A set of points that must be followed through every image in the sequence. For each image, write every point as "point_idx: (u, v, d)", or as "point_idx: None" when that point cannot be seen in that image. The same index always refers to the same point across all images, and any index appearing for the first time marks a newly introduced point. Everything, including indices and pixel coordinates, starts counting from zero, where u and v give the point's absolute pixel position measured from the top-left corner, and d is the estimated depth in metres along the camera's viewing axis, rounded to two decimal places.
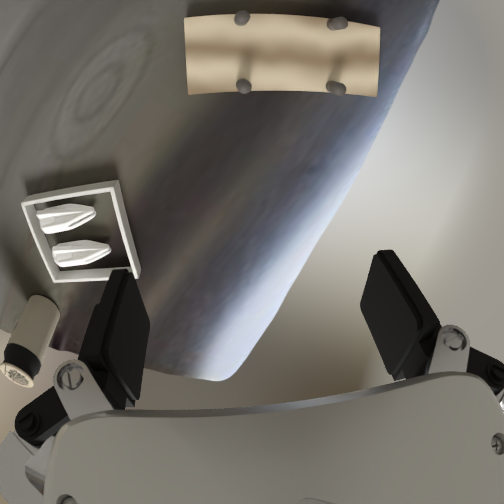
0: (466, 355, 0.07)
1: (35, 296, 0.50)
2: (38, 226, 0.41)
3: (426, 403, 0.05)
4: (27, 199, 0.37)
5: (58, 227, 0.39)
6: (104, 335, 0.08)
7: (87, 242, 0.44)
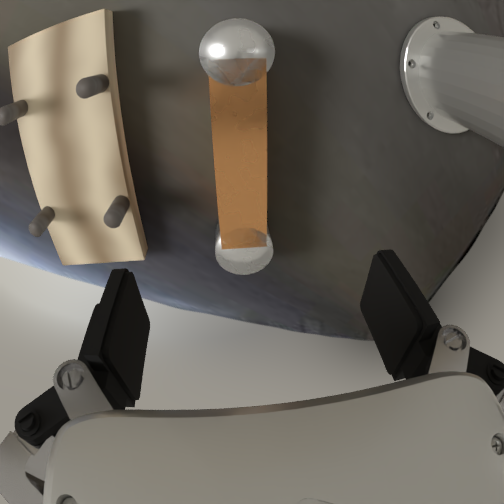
0: (466, 355, 0.07)
1: None
2: None
3: (426, 403, 0.05)
4: None
5: None
6: (104, 335, 0.08)
7: None
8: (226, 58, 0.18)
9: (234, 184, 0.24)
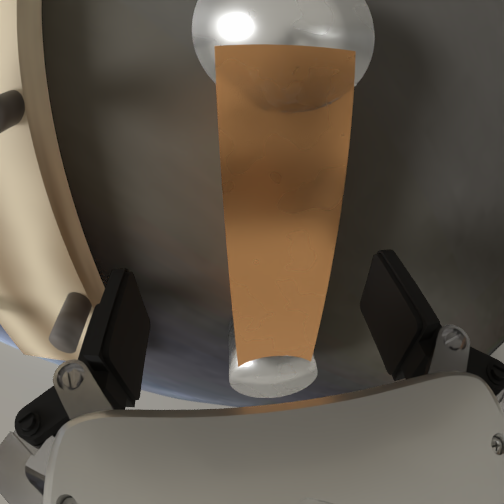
0: (466, 355, 0.07)
1: None
2: None
3: (426, 403, 0.05)
4: None
5: None
6: (103, 335, 0.08)
7: None
8: (261, 43, 0.07)
9: (267, 303, 0.13)
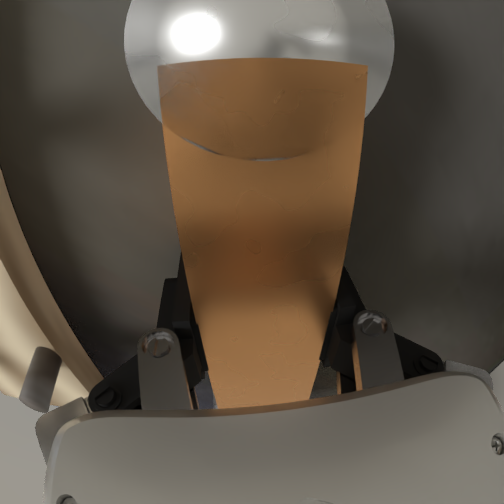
0: (392, 336, 0.08)
1: None
2: None
3: (426, 403, 0.05)
4: None
5: None
6: (190, 302, 0.09)
7: None
8: (226, 56, 0.05)
9: (250, 375, 0.10)
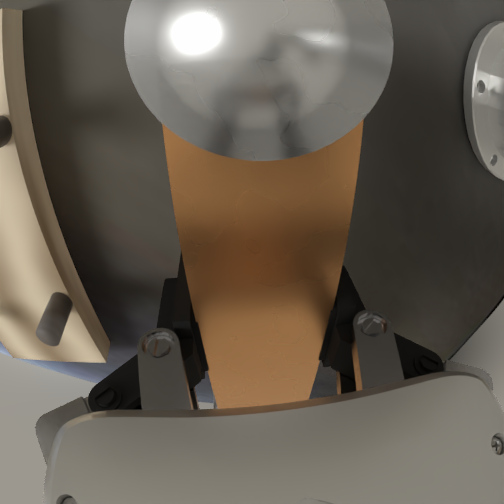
0: (391, 336, 0.08)
1: None
2: None
3: (426, 403, 0.05)
4: None
5: None
6: (190, 302, 0.09)
7: None
8: (225, 57, 0.05)
9: (250, 374, 0.11)
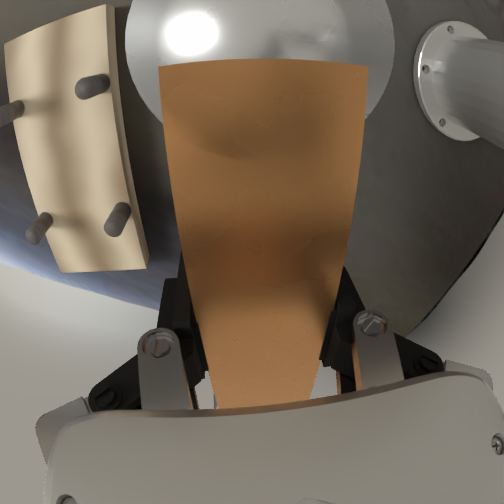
0: (392, 336, 0.08)
1: None
2: None
3: (426, 403, 0.05)
4: None
5: None
6: (190, 302, 0.09)
7: None
8: (226, 57, 0.05)
9: (250, 375, 0.10)
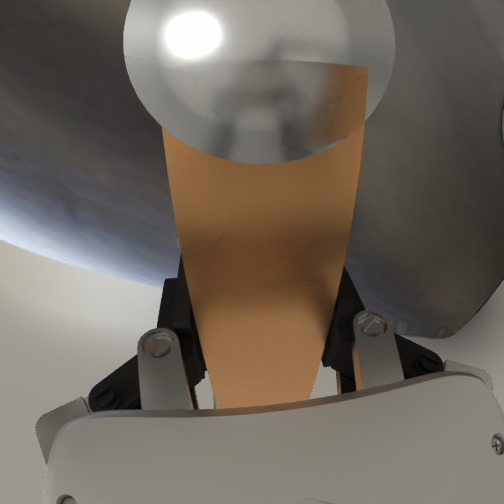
0: (391, 336, 0.08)
1: None
2: None
3: (426, 403, 0.05)
4: None
5: None
6: (190, 302, 0.09)
7: None
8: (226, 59, 0.05)
9: (250, 377, 0.10)
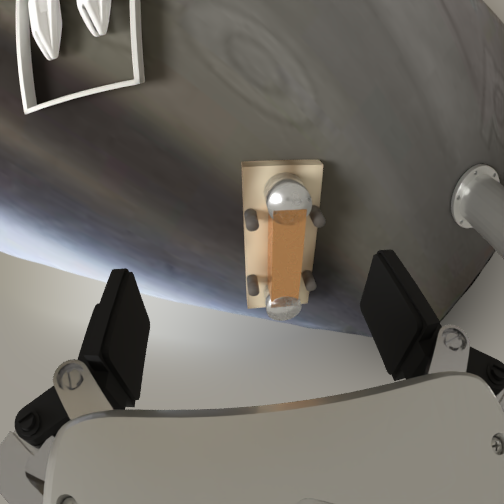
0: (466, 355, 0.07)
1: None
2: None
3: (426, 403, 0.05)
4: None
5: None
6: (104, 335, 0.08)
7: (59, 28, 0.22)
8: (283, 209, 0.35)
9: (282, 275, 0.41)
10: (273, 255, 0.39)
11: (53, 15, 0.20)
